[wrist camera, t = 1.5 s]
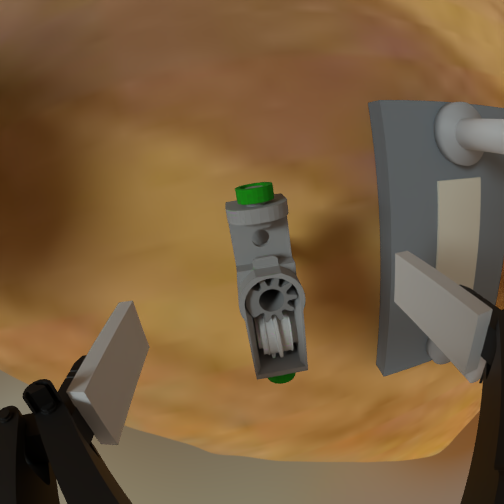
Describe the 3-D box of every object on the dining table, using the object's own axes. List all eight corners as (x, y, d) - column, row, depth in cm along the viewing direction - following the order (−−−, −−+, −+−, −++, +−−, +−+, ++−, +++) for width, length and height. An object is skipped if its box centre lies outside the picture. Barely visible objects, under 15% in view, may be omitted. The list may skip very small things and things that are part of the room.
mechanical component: (264, 166, 22) (292, 183, 12) (282, 296, 25) (311, 380, 16) (222, 172, 22) (217, 195, 12) (245, 302, 25) (256, 390, 16)
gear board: (367, 102, 20) (427, 90, 13) (490, 108, 21) (552, 110, 13) (376, 364, 29) (409, 419, 21) (478, 327, 29) (518, 365, 21)
